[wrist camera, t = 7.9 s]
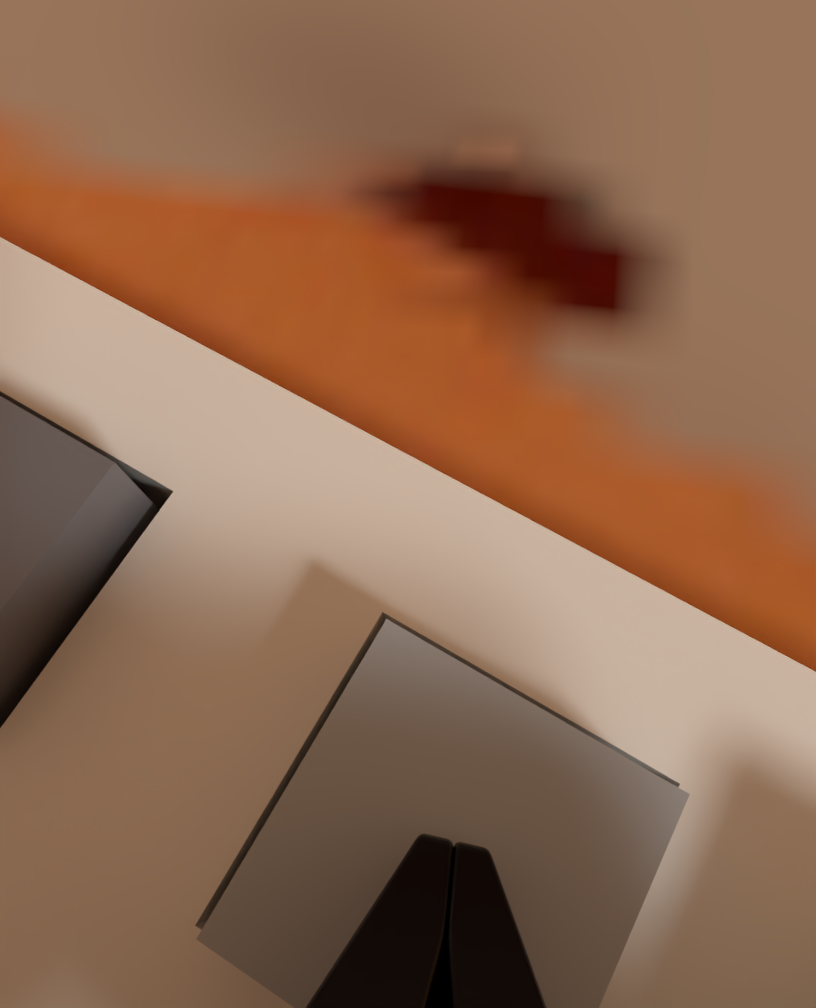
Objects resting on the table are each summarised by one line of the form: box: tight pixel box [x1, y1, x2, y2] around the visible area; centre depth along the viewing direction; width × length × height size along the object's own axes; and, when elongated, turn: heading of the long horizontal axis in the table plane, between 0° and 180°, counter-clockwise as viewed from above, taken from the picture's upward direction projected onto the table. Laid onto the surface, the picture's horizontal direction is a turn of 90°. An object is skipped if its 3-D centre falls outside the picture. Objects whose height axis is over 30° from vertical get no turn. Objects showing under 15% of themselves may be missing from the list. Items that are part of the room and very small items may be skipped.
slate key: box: [196, 619, 690, 1008], centre depth 11 cm, size 4×4×4 cm
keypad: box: [0, 237, 816, 1008], centre depth 14 cm, size 10×29×6 cm, turn 60°
